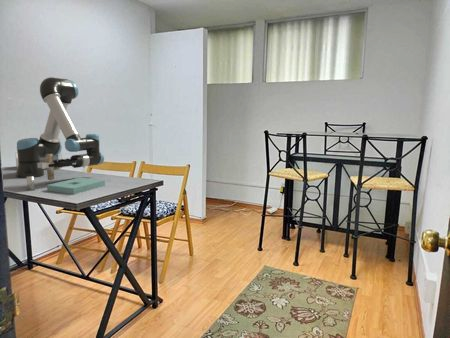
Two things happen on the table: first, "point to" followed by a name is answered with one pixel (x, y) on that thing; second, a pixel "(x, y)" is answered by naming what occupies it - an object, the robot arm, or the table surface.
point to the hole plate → (75, 185)
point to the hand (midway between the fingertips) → (40, 165)
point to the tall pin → (50, 170)
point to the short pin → (30, 183)
